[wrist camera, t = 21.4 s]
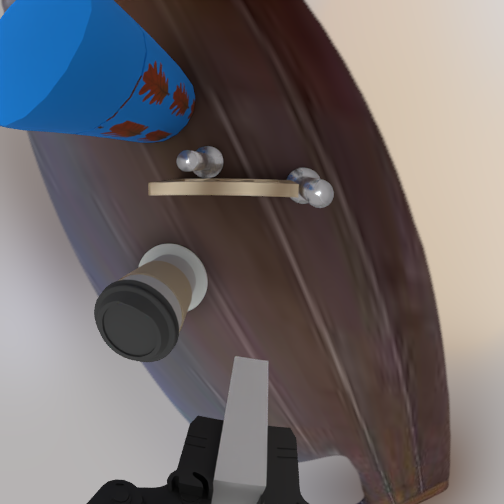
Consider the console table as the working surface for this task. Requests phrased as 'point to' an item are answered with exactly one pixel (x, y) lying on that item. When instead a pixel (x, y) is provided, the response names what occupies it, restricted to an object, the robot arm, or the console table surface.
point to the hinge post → (311, 188)
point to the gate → (225, 187)
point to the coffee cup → (146, 308)
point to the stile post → (201, 161)
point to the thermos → (88, 73)
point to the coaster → (193, 262)
